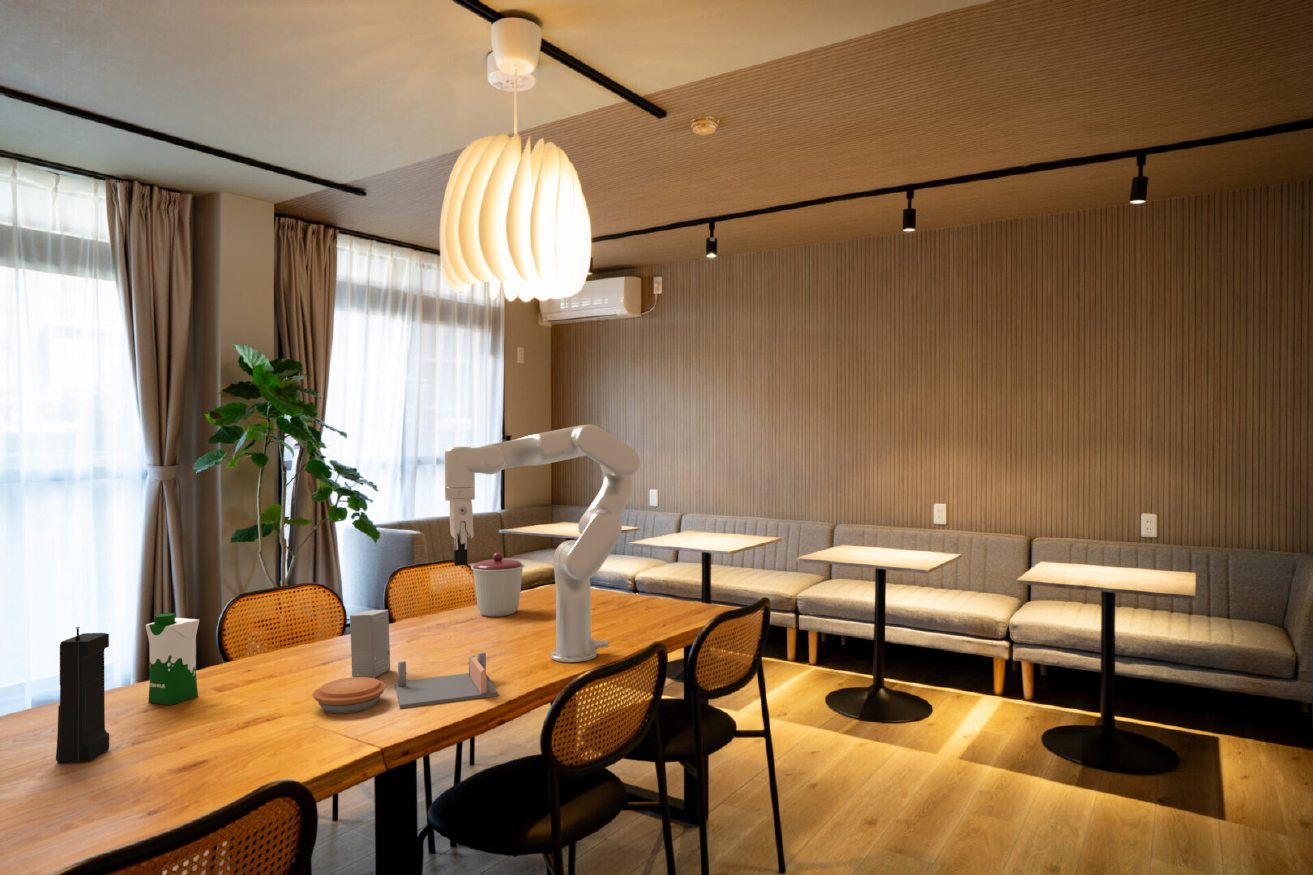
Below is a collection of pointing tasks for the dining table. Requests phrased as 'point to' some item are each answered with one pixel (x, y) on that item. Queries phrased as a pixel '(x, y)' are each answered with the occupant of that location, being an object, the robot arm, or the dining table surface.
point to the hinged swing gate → (439, 687)
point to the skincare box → (370, 643)
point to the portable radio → (82, 699)
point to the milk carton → (172, 659)
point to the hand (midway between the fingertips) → (460, 564)
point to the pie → (349, 694)
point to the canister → (498, 585)
